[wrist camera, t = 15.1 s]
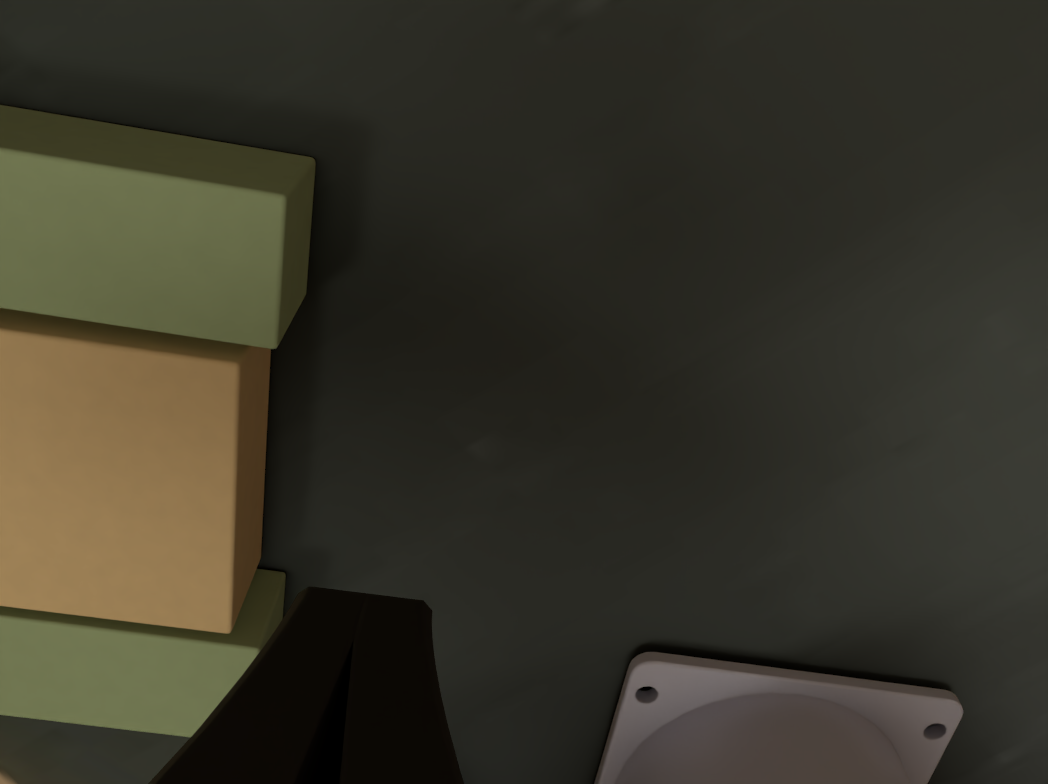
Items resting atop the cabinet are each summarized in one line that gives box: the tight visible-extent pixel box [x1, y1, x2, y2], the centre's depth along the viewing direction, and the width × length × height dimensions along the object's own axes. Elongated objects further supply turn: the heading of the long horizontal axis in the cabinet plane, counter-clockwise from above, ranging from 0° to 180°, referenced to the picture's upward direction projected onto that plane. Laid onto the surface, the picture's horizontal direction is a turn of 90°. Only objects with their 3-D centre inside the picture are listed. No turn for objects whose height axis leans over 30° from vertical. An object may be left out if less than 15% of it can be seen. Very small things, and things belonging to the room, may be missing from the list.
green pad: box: [0, 105, 316, 737], centre depth 18 cm, size 12×10×2 cm
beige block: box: [0, 308, 271, 634], centre depth 18 cm, size 6×5×2 cm
